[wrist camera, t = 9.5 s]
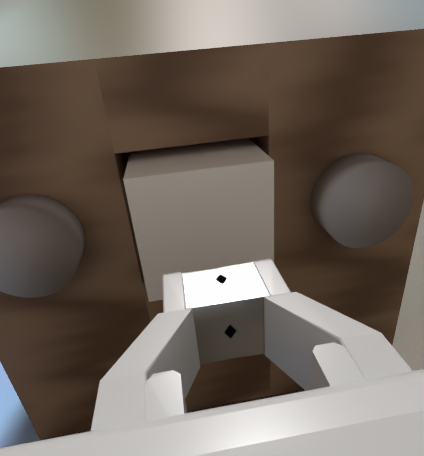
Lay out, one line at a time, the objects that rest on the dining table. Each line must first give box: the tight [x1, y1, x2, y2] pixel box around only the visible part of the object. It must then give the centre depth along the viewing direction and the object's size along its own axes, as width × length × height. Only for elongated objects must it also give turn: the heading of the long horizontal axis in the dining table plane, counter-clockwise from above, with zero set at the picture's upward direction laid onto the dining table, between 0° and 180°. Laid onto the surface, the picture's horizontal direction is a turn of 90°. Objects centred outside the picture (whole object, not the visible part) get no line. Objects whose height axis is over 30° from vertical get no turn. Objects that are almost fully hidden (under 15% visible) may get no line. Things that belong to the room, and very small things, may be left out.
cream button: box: [123, 138, 274, 302], centre depth 14 cm, size 5×4×5 cm
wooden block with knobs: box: [0, 29, 424, 439], centre depth 19 cm, size 20×12×18 cm, turn 98°
